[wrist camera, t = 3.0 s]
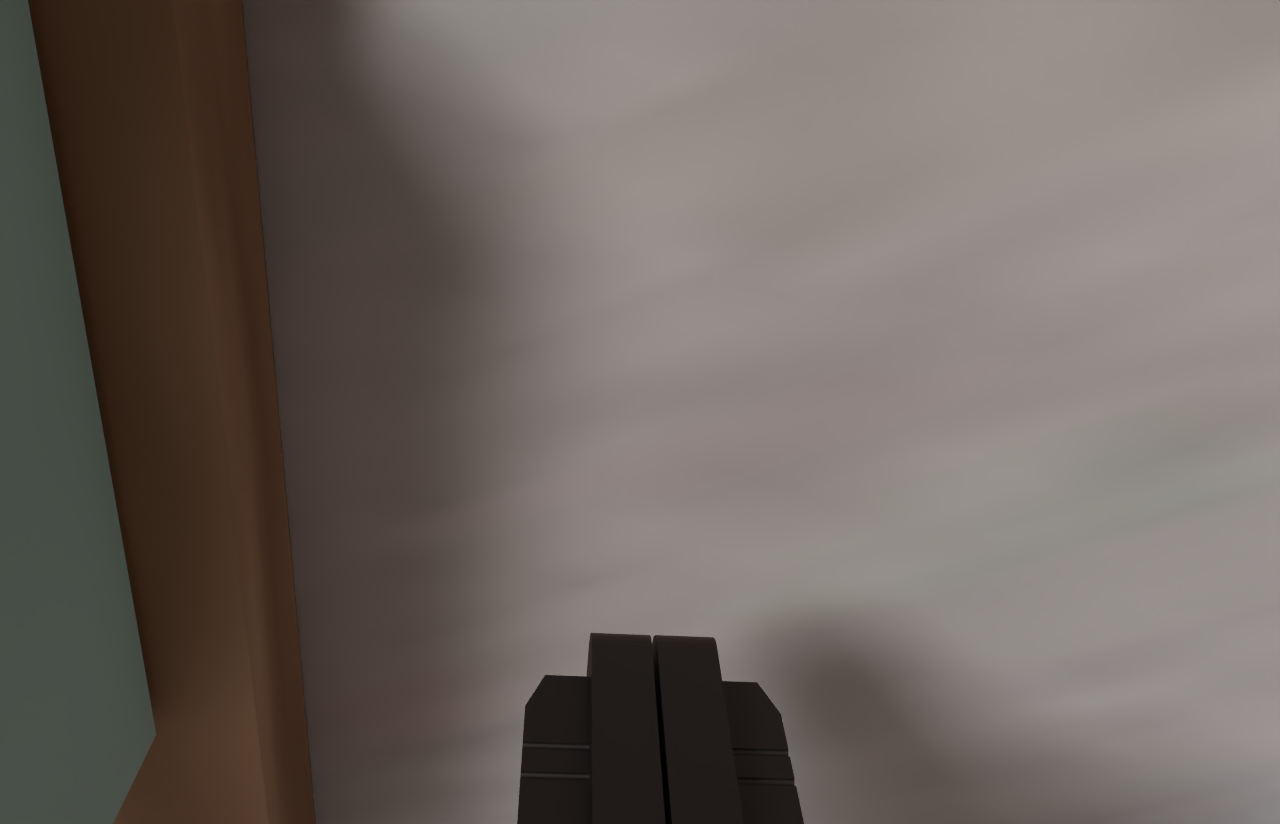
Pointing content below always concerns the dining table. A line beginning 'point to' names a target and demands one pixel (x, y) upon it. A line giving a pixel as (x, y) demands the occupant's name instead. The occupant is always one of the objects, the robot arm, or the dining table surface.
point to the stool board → (184, 392)
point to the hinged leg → (55, 501)
